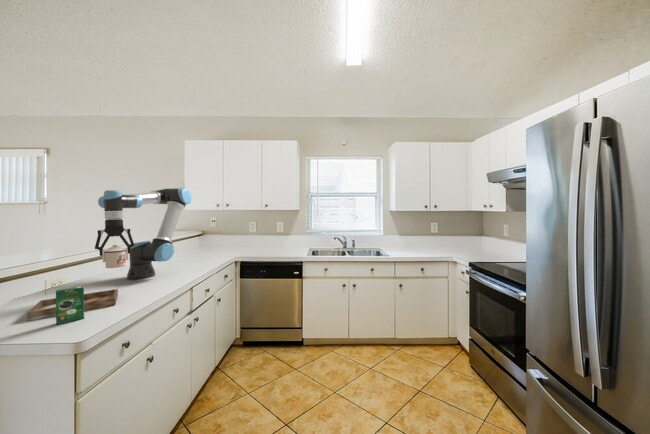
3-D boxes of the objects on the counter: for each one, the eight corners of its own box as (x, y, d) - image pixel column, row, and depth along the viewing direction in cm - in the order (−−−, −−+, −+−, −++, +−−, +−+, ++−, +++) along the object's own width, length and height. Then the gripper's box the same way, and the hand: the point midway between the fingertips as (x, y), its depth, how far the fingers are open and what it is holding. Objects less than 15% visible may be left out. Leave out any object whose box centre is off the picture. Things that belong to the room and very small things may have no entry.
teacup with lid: (120, 267, 133) (119, 245, 133) (100, 269, 132) (99, 246, 131) (133, 263, 145) (132, 242, 145) (115, 263, 144) (114, 243, 143)
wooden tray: (117, 295, 131) (117, 288, 131) (115, 305, 117) (114, 297, 117) (41, 308, 115) (40, 300, 115) (27, 321, 101) (27, 312, 101)
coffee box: (84, 316, 105) (83, 285, 105) (85, 318, 103) (83, 286, 103) (56, 323, 99) (54, 289, 99) (56, 325, 97) (54, 291, 97)
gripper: (85, 220, 128) (87, 264, 128) (138, 218, 140) (140, 259, 141) (87, 219, 134) (89, 262, 135) (139, 218, 146) (140, 257, 147)
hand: (115, 260), depth 138 cm, fingers closed on teacup with lid, 9 cm apart
